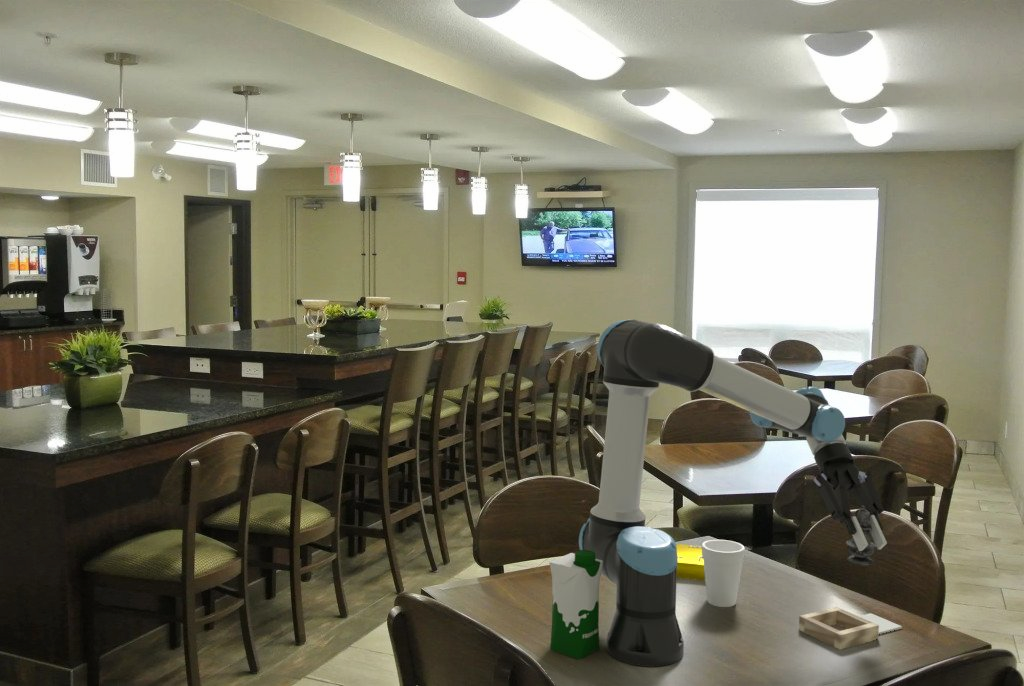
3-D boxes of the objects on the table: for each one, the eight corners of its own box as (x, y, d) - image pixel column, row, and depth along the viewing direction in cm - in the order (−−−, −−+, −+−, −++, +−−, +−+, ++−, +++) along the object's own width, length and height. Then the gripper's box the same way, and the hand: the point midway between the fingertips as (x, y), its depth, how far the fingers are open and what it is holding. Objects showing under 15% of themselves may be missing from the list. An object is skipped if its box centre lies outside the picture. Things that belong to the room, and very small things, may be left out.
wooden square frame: (840, 649, 180) (840, 635, 180) (798, 629, 190) (799, 615, 190) (878, 639, 186) (878, 625, 185) (836, 620, 195) (836, 606, 195)
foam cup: (732, 613, 199) (733, 555, 198) (693, 603, 204) (695, 547, 203) (749, 600, 206) (751, 544, 205) (711, 591, 212) (713, 537, 211)
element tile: (731, 564, 232) (731, 546, 231) (728, 584, 217) (729, 565, 217) (671, 559, 236) (672, 541, 235) (665, 578, 221) (666, 559, 221)
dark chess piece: (877, 566, 186) (880, 510, 184) (847, 564, 187) (850, 508, 186) (872, 557, 192) (875, 501, 190) (843, 554, 193) (846, 500, 191)
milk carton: (580, 662, 174) (582, 561, 172) (543, 649, 179) (544, 551, 177) (605, 647, 180) (607, 550, 179) (569, 635, 186) (570, 540, 184)
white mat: (875, 635, 187) (875, 633, 187) (844, 621, 194) (844, 619, 194) (901, 628, 191) (901, 626, 191) (870, 615, 198) (870, 613, 198)
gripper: (856, 457, 204) (900, 552, 190) (789, 461, 200) (828, 558, 186) (871, 439, 198) (917, 535, 184) (802, 442, 195) (844, 541, 180)
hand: (872, 546), depth 185 cm, fingers closed on dark chess piece, 4 cm apart
